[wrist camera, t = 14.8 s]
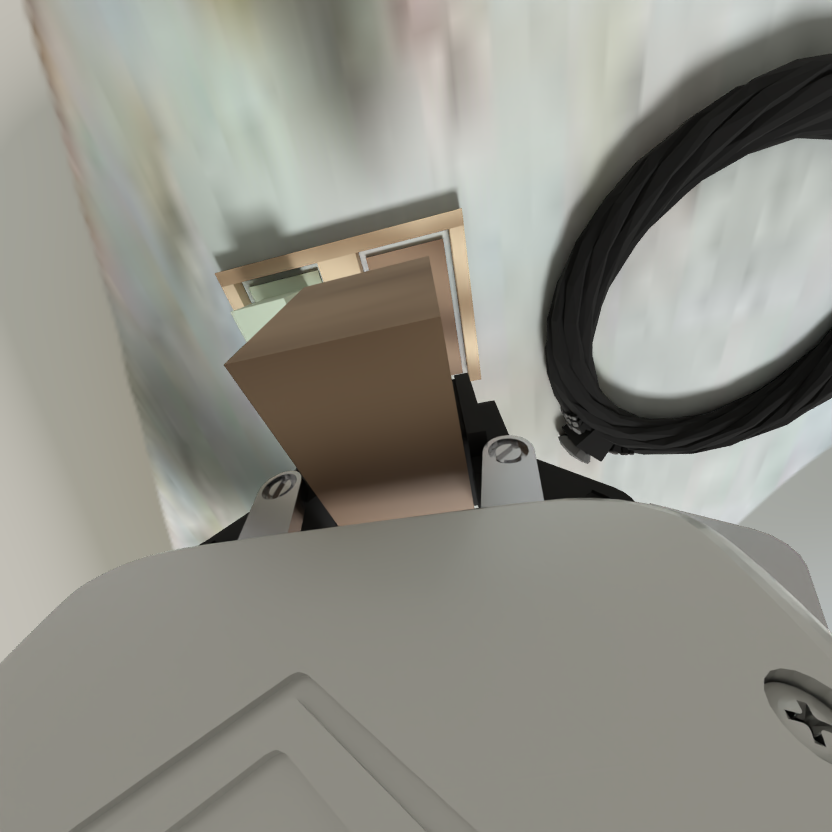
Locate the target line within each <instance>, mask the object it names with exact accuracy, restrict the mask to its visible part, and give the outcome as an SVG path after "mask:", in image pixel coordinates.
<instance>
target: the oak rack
mask: <svg viewBox="0 0 832 832" xmlns="http://www.w3.org/2000/svg"><path fill="white" fill-rule="evenodd" d="M447 229H448V231H449V238H450V245H451V253H452V260H453V267H454V274H455V282H456V289H457V296H458V303H459V311H460V318H461V325H462V333H463V340H464V347H465V354H466V362H467V369H468V375H469V378H470V381H474V380H480V379H481V373H480V364H479V355H478V346H477V338H476V329H475V320H474V311H473V303H472V294H471V285H470V276H469V267H468V259H467V250H466V241H465V232H464V224H463V215H462V208H461V209H457V210H453V211H449V212H445V213H442V214H438V215H434V216H430V217H426V218H423V219H419V220H415V221H411V222H407V223H404V224H400V225H396V226H392V227H389V228H385V229H381V230H377V231H373V232H370V233H366V234H362V235H358V236H354V237H351V238H347V239H343V240H339V241H335V242H332V243H328V244H324V245H320V246H317V247H313V248H309V249H305V250H301V251H298V252H294V253H290V254H286V255H282V256H279V257H275V258H271V259H267V260H263V261H260V262H256V263H252V264H248V265H245V266H241V267H237V268H233V269H229V270H226V271H222V272H218V273H215V275H216V277H217V279H218V281H219V283H220V285H221V287H222V289H223V291H224V293H225V294H226V296H227V298H228V300H229V302H230V304H231V306H232V308H233V310H234V311H235V310H237V309H240V308H242V307H245V306H247V305H250V304H252V303H251V301H250V299H249V297H248V295H247V293H246V291H245V289H244V287H243V285H242V283H241V282H244V281H248V280H252V279H256V278H260V277H264V276H267V275H271V274H275V273H279V272H283V271H287V270H291V269H295V268H299V267H303V266H307V265H310V264H314V263H317V264H318V267H319V270H320V272H321V275H322V278H323V281H324V282H327V281H331V280H335V279H339V278H343V277H347V276H351V275H355V274H359V273H362V272H364V271H363V267H362V264H361V260H360V257H359V253H358V252H361V251H365V250H369V249H373V248H377V247H381V246H385V245H388V244H392V243H396V242H400V241H404V240H408V239H412V238H416V237H420V236H424V235H427V234H431V233H435V232H439V231H443V230H447ZM426 256H429V259H430V264H431V269H432V274H433V280H434V285H435V290H436V295H437V300H438V305H439V310H440V315H441V321H442V327H443V333H444V338H445V344H446V350H447V355H448V361H449V367H450V372H451V375H455V374H460V373H463V371H462V365H461V358H460V351H459V344H458V338H457V331H456V324H455V317H454V310H453V304H452V297H451V290H450V283H449V277H448V270H447V263H446V256H445V249H444V243H443V239H439V240H435V241H431V242H427V243H423V244H419V245H415V246H411V247H407V248H403V249H399V250H395V251H392V252H388V253H384V254H380V255H376V256H372V257H368V258H366V260H367V264H368V267H369V271H370V270H374V269H378V268H382V267H386V266H390V265H394V264H398V263H402V262H406V261H410V260H414V259H418V258H422V257H426ZM319 283H323V282H322V279H321V276H320V274H319V271H318V270H316V271H312V272H308V273H305V274H301V275H297V276H293V277H289V278H285V279H281V280H277V281H273V282H269V283H265V284H261V285H257V286H253V287H249V289H250V292H251V294H252V296H253V298H254V300H255V302H257V301H260V300H262V299H265V298H269V297H273V296H277V295H281V294H284V293H288V292H292V291H296V290H300V289H303V288H304V287H307V286H311V285H315V284H319Z"/></svg>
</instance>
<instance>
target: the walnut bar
mask: <svg viewBox="0 0 832 832" xmlns="http://www.w3.org/2000/svg"><path fill="white" fill-rule="evenodd" d="M224 366H225V367H226V369H227V370H228V372H229V373H230V374H231V376H232V377H233V379H234V380H235V381H236V383H237V384H238V386H239V387H240V388H241V390H242V391H243V393H244V394H245V396H246V397H247V398H248V400H249V401H250V403H251V404H252V405H253V407H254V408H255V410H256V411H257V412H258V414H259V415H260V417H261V418H262V419H263V421H264V422H265V424H266V425H267V426H268V428H269V429H270V431H271V432H272V433H273V435H274V436H275V438H276V439H277V440H278V442H279V443H280V445H281V446H282V448H283V449H284V450H285V452H286V453H287V455H288V456H289V457H290V459H291V460H292V462H293V463H294V464H295V466H296V467H297V469H298V470H299V471H300V473H301V474H302V476H303V477H304V478H305V480H306V481H307V483H308V484H309V485H310V487H311V488H312V490H313V491H314V492H315V494H316V495H317V497H318V498H319V500H320V501H321V502H322V504H323V505H324V507H325V508H326V509H327V511H328V512H329V514H330V515H331V516H332V518H333V519H334V521H335V522H336V523H337V525H338V526H345V525H353V524H360V523H368V522H375V521H383V520H390V519H398V518H406V517H413V516H421V515H428V514H436V513H444V512H452V511H460V510H467V509H474V504H473V498H472V492H471V486H470V481H469V475H468V469H467V464H466V458H465V452H464V447H463V441H462V435H461V429H460V424H459V418H458V412H457V407H456V401H455V395H454V390H453V384H452V378H451V372H450V367H449V361H448V355H447V350H446V344H445V338H444V333H443V327H442V321H441V315H440V310H439V305H438V300H437V295H436V290H435V285H434V280H433V274H432V269H431V264H430V259H429V256H426V257H422V258H418V259H414V260H410V261H406V262H402V263H398V264H394V265H390V266H386V267H382V268H378V269H374V270H370V271H366V272H362V273H359V274H355V275H351V276H347V277H343V278H339V279H335V280H331V281H327V282H323V283H319V284H315V285H311V286H307V287H304V288H303V289H302V290H301V291H300V292H299V293H298V294H297V295H295V296H294V297H293V298H292V299H291V300H290V301H289V302H288V303H287V304H286V305H285V306H284V307H283V308H282V309H281V310H280V311H279V312H278V313H277V314H276V315H275V316H274V317H273V318H272V319H271V320H270V321H269V322H267V323H266V324H265V325H264V326H263V327H262V328H261V329H260V330H259V331H258V332H257V333H256V334H255V335H254V336H253V337H252V338H251V339H250V340H249V341H248V342H247V343H246V344H245V345H244V346H243V347H242V348H241V349H239V350H238V351H237V352H236V353H235V354H234V355H233V356H232V357H231V358H230V359H229V360H228V361H227V362H226V363H225V364H224Z"/></svg>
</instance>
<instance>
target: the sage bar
mask: <svg viewBox="0 0 832 832" xmlns="http://www.w3.org/2000/svg"><path fill="white" fill-rule="evenodd" d="M301 290H302V289H300V290H296V291H292V292H288V293H284V294H281V295H277V296H273V297H269V298H265V299H262V300H260V301H257V302H255V303H252V304H250V305H247V306H245V307H242V308H240V309H237V310H235V311H232V312H231V314H232V316H233V318H234V320H235V322H236V324H237V325H238V327H239V329H240V331H241V333H242V335H243V337H244V338H245V340H246V342H248V341H249V340H250V339H251V338H252V337H253V336H254V335H255V334H256V333H257V332H258V331H259V330H260V329H261V328H262V327H263V326H264V325H265V324H266V323H267V322H269V321H270V320H271V319H272V318H273V317H274V316H275V315H276V314H277V313H278V312H279V311H280V310H281V309H282V308H283V307H284V306H285V305H286V304H287V303H288V302H289V301H290V300H291V299H292V298H293V297H294V296H295V295H297V294H298V293H299V292H300V291H301Z"/></svg>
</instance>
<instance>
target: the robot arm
mask: <svg viewBox="0 0 832 832" xmlns="http://www.w3.org/2000/svg"><path fill="white" fill-rule="evenodd" d="M454 378H455V379H452V384H453V390H454V395H455V401H456V407H457V412H458V418H459V424H460V429H461V435H462V441H463V447H464V452H465V458H466V464H467V469H468V475H469V481H470V486H471V492H472V498H473V504H474V506H476V505H478V507H479V508H475V509H467V510H460V511H452V512H444V513H436V514H428V515H421V516H413V517H406V518H398V519H390V520H383V521H375V522H368V523H360V524H353V525H345V526H338V525H337V523H336V522H335V521H334V519H333V518H332V516H331V515H330V514H329V512H328V511H327V509H326V508H325V507H324V505H323V504H322V502H321V501H320V500H319V498H318V497H317V495H316V494H315V492H314V491H313V490H312V488H311V487H310V485H309V484H308V483H307V481H306V480H305V478H304V477H303V476H302V474H301V473H300V471H299V470H298V469H297V468H296V470H295V471H286V472H282V473H280V474H277V475H276V476H274V477H272V478H271V479H269V480H268V481H267V482H265V483H264V484H263V486H262V487H261V488H260V490H259V491H258V493H257V496H256V498H255V500H254V503H253V505H252V507H251V510H250V512H249V513H247V514H246V515H244V516H243V517H241V518H240V519H238V520H237V521H235V522H234V523H232V524H231V525H229V526H228V527H226V528H225V529H223V530H222V531H220V532H219V533H217V534H216V535H214V536H213V537H211V538H210V539H208V540H207V541H205V542H203V543H202V544H200V545H199V546H194V547H188V548H182V549H177V550H171V551H167V552H162V553H158V554H154V555H150V556H146V557H143V558H141V559H138V560H135V561H132V562H129V563H126V564H124V565H121V566H119V567H117V568H115V569H112V570H110V571H108V572H106V573H104V574H102V575H100V576H98V577H96V578H95V579H93V580H91V581H89V582H87V583H86V584H84V585H83V586H81V587H80V588H78V589H77V590H76V591H74V592H73V593H72V594H71V595H70V596H69V597H67V598H66V599H65V600H64V601H63V602H62V603H61V604H60V605H59V606H58V607H57V608H56V609H55V610H54V611H52V612H51V614H49V615H48V616H47V617H46V618H45V619H44V620H43V621H42V622H41V623H40V624H39V625H38V626H37V627H36V628H35V629H34V630H33V631H32V632H31V633H30V634H29V635H28V636H27V637H26V638H25V639H24V640H23V641H22V642H21V643H20V644H19V645H18V646H17V647H16V648H15V649H14V650H13V651H12V652H11V653H10V654H9V655H8V656H7V657H6V658H5V659H4V660H3V661H2V662H1V663H0V832H832V633H831V632H830V631H829V630H828V627H827V624H826V621H825V618H824V615H823V612H822V609H821V606H820V603H819V600H818V597H817V594H816V591H815V588H814V585H813V582H812V579H811V576H810V573H809V570H808V567H807V565H806V564H805V562H804V560H803V559H802V557H801V556H800V554H798V553H797V552H796V551H795V550H794V549H792V548H791V547H790V546H789V545H788V544H786V543H784V542H783V541H781V540H779V539H777V538H775V537H774V536H771V535H769V534H766V533H764V532H761V531H758V530H755V529H751V528H747V527H743V526H739V525H735V524H731V523H727V522H723V521H719V520H715V519H711V518H707V517H703V516H699V515H695V514H691V513H687V512H683V511H679V510H675V509H671V508H667V507H663V506H659V505H655V504H651V503H650V504H645V503H639V502H635V501H634V500H633V499H632V498H631V497H630V496H628V495H627V494H626V493H624V492H623V491H620V490H618V489H616V488H614V487H611V486H609V485H606V484H603V483H601V482H598V481H595V480H592V479H590V478H587V477H584V476H581V475H579V474H576V473H573V472H571V471H568V470H565V469H562V468H560V467H557V466H554V465H551V464H549V463H546V462H543V461H541V460H538V459H536V455H535V449H534V447H533V445H532V444H531V443H530V442H529V441H528V440H526V439H524V438H522V437H518V436H512V435H509V434H508V432H507V429H506V427H505V424H504V422H503V420H502V417H501V415H500V413H499V410H498V408H497V405H496V403H495V401H488V402H483V403H477V400H476V397H475V394H474V391H473V387H472V384H471V381H470V378H469V375H468V373H464V374H459V375H454Z"/></svg>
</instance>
